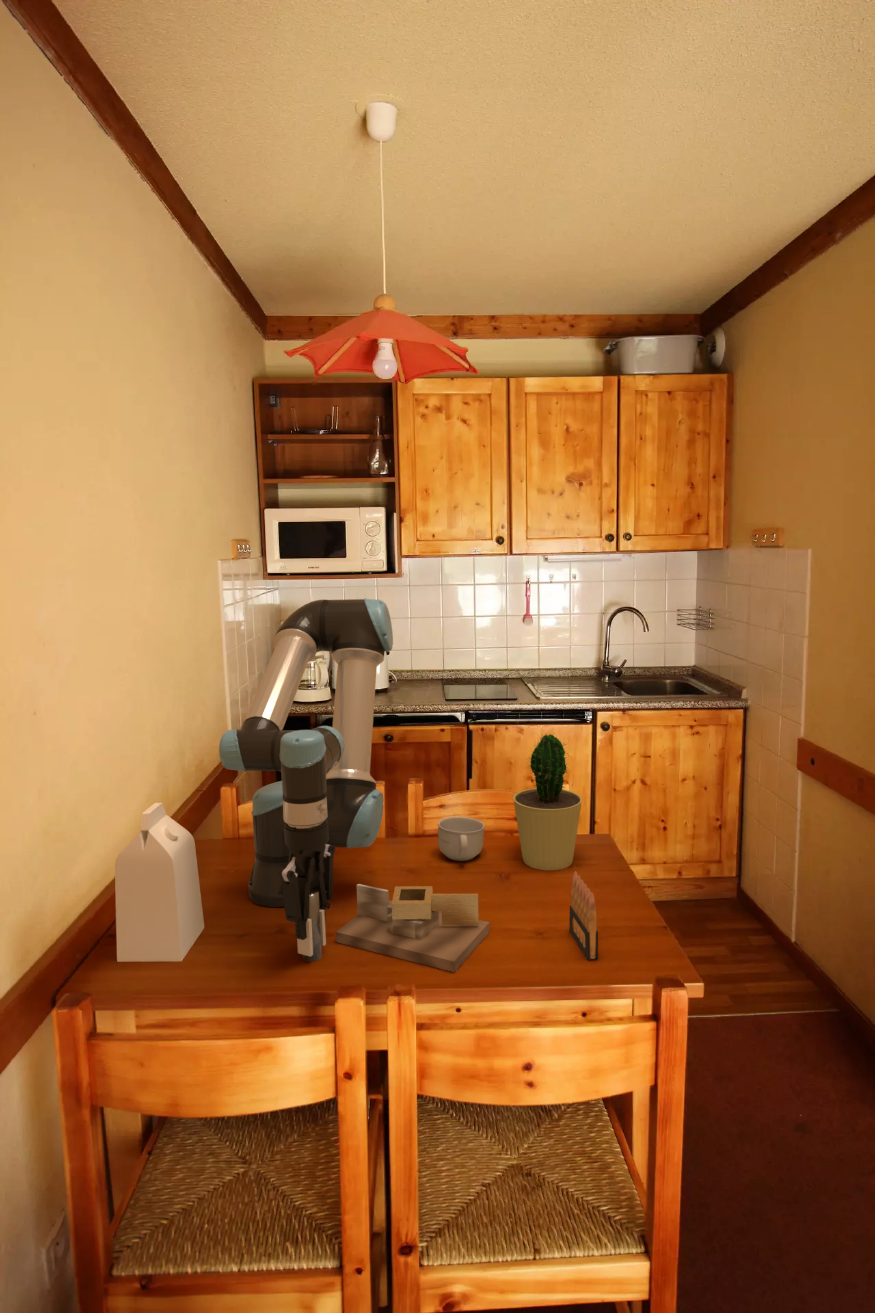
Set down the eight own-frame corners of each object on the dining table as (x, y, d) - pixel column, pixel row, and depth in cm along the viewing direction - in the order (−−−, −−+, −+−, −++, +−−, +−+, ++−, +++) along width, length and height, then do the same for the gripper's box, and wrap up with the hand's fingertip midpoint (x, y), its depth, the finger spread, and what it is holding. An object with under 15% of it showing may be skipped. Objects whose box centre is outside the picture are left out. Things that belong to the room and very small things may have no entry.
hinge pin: (299, 959, 133) (296, 894, 131) (310, 950, 136) (307, 887, 134) (314, 963, 131) (311, 898, 130) (325, 954, 134) (322, 890, 133)
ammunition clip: (598, 960, 130) (598, 894, 129) (588, 961, 130) (588, 895, 129) (578, 930, 141) (578, 868, 139) (569, 930, 141) (569, 869, 139)
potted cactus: (526, 843, 183) (525, 722, 179) (588, 853, 176) (589, 727, 172) (503, 867, 169) (502, 737, 165) (571, 879, 163) (571, 743, 159)
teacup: (441, 846, 182) (441, 814, 181) (486, 847, 181) (486, 815, 180) (433, 870, 169) (432, 836, 168) (481, 872, 167) (481, 837, 166)
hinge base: (336, 942, 138) (334, 900, 137) (379, 907, 152) (378, 869, 150) (454, 972, 127) (453, 928, 126) (489, 932, 141) (488, 891, 140)
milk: (145, 928, 145) (134, 797, 142) (204, 927, 145) (195, 797, 141) (117, 961, 133) (105, 820, 130) (181, 961, 133) (171, 819, 129)
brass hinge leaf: (392, 934, 136) (391, 903, 135) (396, 915, 143) (395, 886, 142) (478, 933, 135) (478, 903, 134) (478, 915, 142) (477, 886, 141)
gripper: (294, 840, 121) (301, 977, 124) (350, 809, 136) (355, 932, 139) (257, 833, 125) (265, 966, 128) (316, 803, 139) (321, 924, 142)
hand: (312, 948), depth 133 cm, fingers closed on hinge pin, 3 cm apart
